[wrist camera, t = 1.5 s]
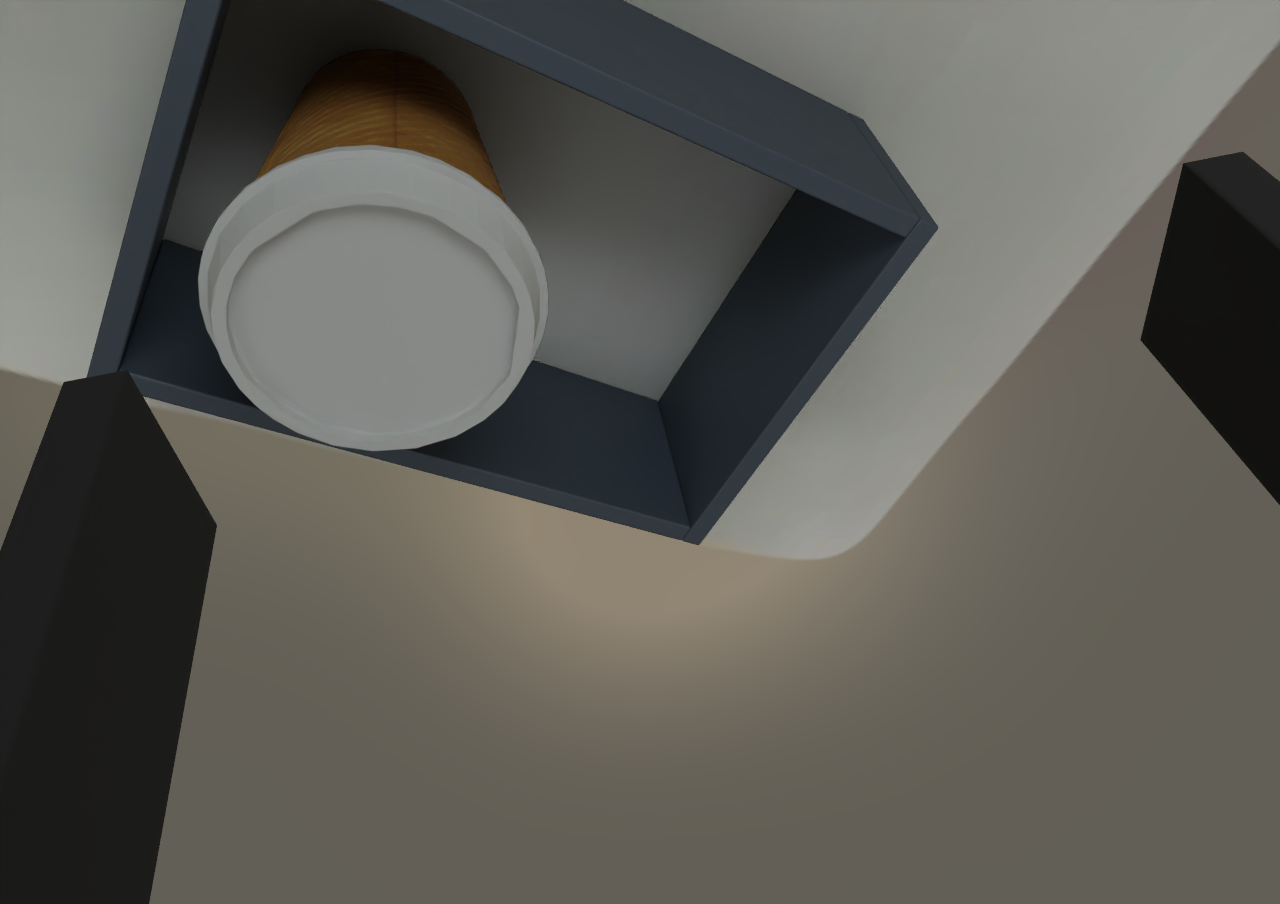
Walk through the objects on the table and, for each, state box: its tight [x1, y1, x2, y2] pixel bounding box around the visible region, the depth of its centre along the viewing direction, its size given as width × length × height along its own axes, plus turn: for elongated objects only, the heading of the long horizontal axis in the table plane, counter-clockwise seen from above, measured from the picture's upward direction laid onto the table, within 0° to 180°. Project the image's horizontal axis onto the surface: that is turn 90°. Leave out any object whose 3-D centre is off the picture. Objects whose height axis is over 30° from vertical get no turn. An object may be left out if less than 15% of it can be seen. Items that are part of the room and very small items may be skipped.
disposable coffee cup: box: [198, 50, 548, 451], centre depth 34 cm, size 10×10×12 cm
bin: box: [87, 0, 938, 545], centre depth 37 cm, size 23×16×8 cm
